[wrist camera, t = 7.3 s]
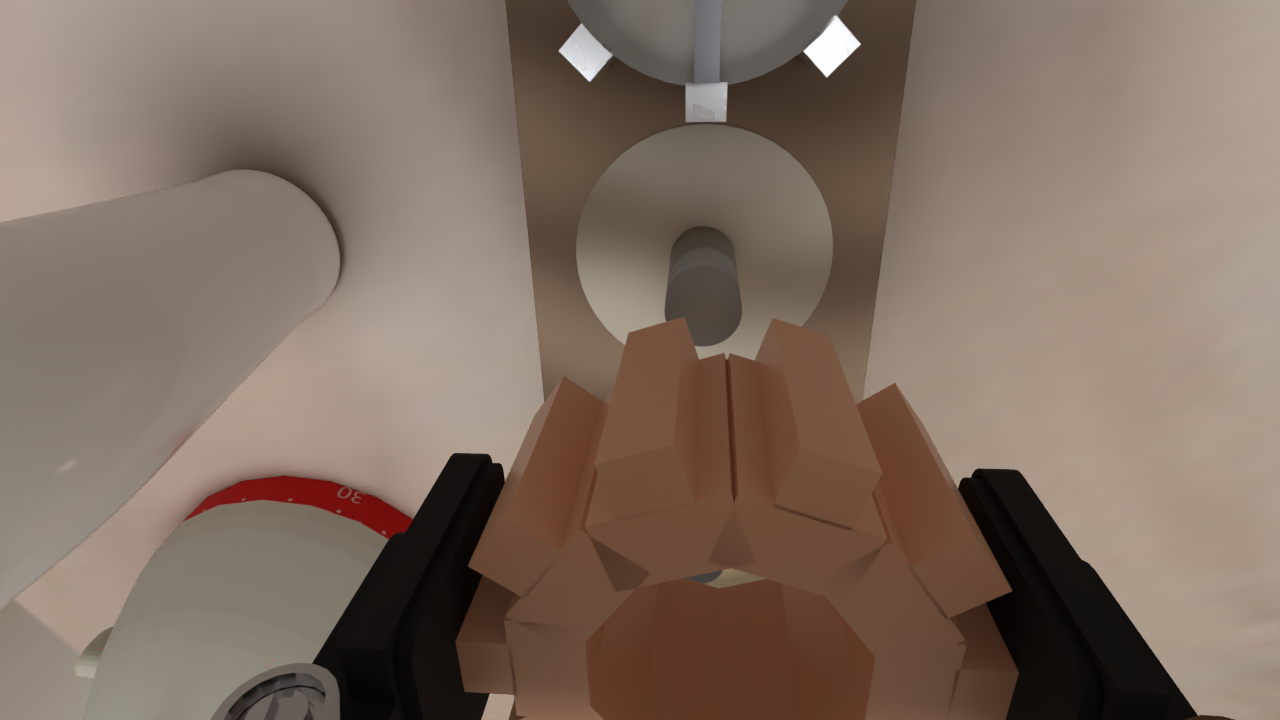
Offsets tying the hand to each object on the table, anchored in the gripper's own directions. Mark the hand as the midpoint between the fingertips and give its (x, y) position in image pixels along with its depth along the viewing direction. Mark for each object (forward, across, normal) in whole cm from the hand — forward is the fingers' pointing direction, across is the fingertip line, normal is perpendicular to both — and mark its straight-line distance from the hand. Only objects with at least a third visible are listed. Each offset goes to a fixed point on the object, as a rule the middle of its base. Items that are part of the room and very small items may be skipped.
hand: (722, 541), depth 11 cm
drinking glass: (+14, +15, -1) cm, 21 cm away
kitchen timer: (+15, +17, +16) cm, 28 cm away
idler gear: (+1, 0, 0) cm, 1 cm away
